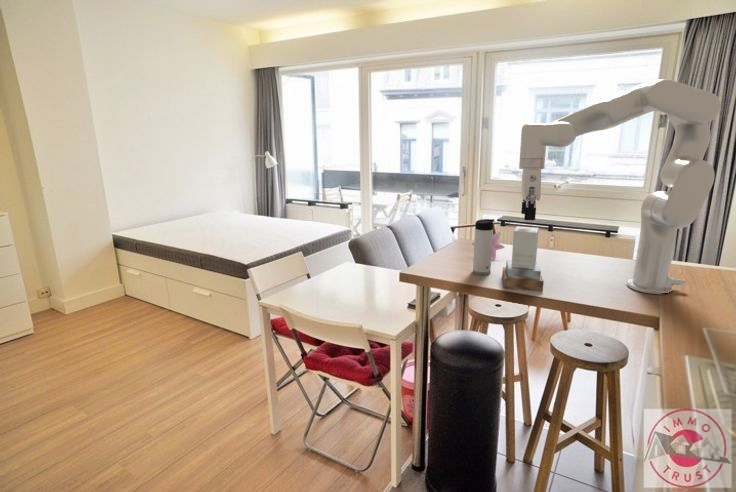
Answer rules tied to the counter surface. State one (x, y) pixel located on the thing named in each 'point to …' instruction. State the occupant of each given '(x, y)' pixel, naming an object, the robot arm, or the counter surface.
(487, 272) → the travel mug
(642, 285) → the robot arm
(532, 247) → the supplement box
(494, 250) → the lily
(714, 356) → the counter surface
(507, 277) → the brown napkin holder
